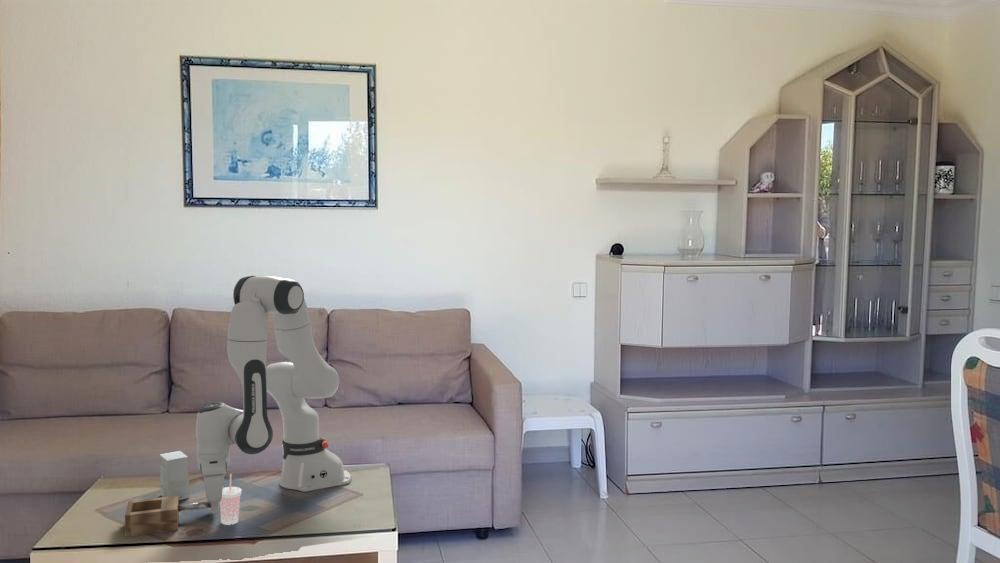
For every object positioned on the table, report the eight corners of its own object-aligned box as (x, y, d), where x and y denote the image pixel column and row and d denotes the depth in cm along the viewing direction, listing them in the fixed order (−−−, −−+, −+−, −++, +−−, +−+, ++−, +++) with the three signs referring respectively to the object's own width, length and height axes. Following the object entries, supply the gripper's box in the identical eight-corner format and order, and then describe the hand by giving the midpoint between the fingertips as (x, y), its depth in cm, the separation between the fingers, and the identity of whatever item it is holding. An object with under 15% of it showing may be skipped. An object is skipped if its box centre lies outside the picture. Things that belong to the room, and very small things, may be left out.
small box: (190, 498, 239) (188, 456, 238) (168, 503, 235) (167, 460, 234) (181, 490, 245) (180, 450, 244) (160, 495, 241) (158, 454, 240)
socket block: (179, 515, 225) (178, 495, 225) (177, 530, 215) (177, 509, 215) (129, 521, 221) (128, 501, 220) (125, 537, 211) (124, 515, 210)
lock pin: (216, 507, 227) (216, 496, 227) (217, 511, 224) (216, 500, 224) (169, 512, 223) (168, 501, 222) (168, 516, 220) (168, 505, 219)
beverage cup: (242, 524, 220) (243, 476, 218) (219, 527, 217) (220, 478, 216) (239, 515, 225) (240, 468, 224) (216, 518, 223) (217, 471, 221)
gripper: (201, 450, 233) (202, 495, 234) (201, 472, 214) (202, 521, 215) (224, 448, 235) (225, 493, 236) (226, 469, 216) (227, 518, 217)
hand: (214, 506), depth 225 cm, fingers open, 8 cm apart
